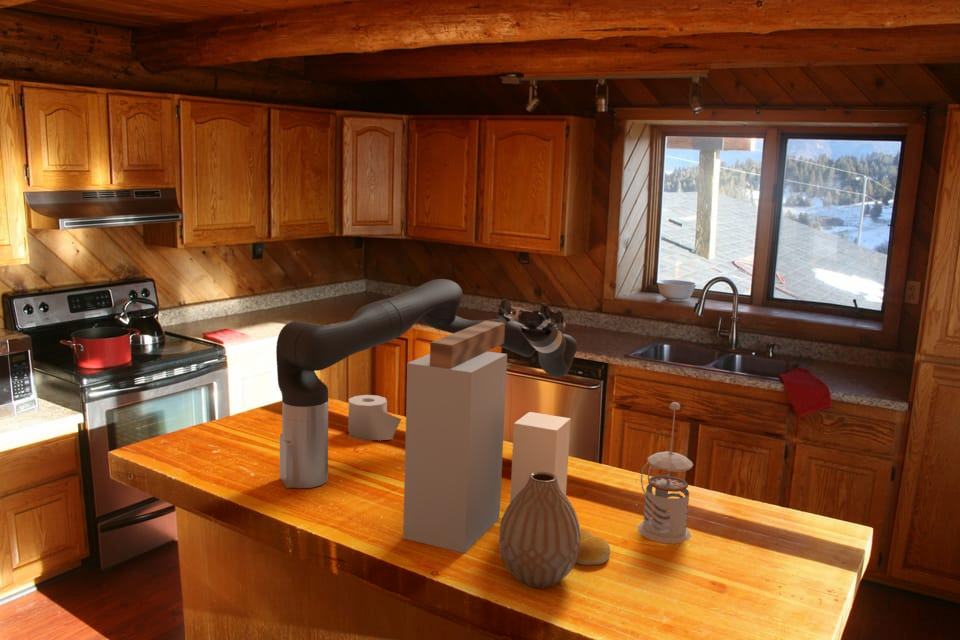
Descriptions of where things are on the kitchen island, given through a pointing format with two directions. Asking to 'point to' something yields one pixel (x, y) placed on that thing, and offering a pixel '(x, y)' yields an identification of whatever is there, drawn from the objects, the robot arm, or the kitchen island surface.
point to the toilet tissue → (371, 418)
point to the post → (539, 449)
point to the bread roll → (592, 549)
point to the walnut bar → (466, 344)
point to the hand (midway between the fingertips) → (522, 305)
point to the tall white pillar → (453, 450)
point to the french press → (666, 497)
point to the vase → (540, 533)
